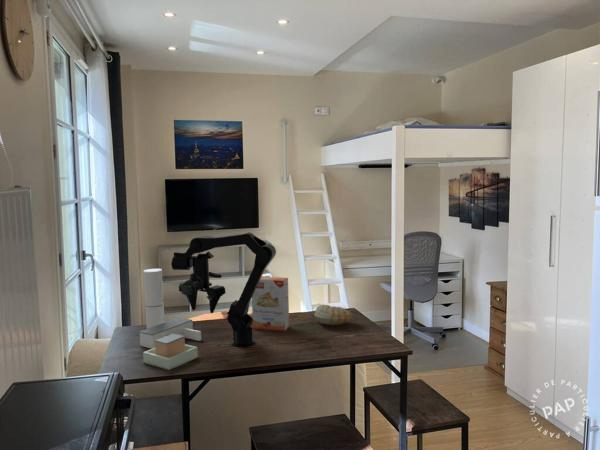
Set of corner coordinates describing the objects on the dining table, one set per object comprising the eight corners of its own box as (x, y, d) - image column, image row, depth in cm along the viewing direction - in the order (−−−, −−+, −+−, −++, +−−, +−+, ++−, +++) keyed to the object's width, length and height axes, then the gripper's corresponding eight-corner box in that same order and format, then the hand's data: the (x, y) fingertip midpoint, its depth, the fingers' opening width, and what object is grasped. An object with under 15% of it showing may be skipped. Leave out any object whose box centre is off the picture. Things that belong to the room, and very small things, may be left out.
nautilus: (304, 318, 204) (336, 316, 209) (322, 330, 184) (357, 327, 188) (304, 300, 204) (336, 299, 209) (322, 310, 183) (357, 308, 188)
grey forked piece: (140, 345, 173) (139, 331, 173) (180, 330, 190) (180, 317, 190) (169, 353, 165) (169, 338, 164) (209, 336, 182) (209, 323, 181)
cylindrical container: (167, 327, 194) (164, 268, 192) (160, 333, 187) (157, 271, 184) (151, 327, 195) (147, 268, 192) (143, 333, 188) (140, 272, 185)
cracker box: (252, 329, 189) (250, 278, 187) (257, 324, 195) (256, 275, 193) (284, 331, 185) (283, 280, 183) (289, 327, 191) (288, 277, 189)
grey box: (185, 355, 161) (184, 336, 160) (167, 363, 154) (166, 343, 153) (174, 352, 164) (173, 333, 163) (156, 360, 157) (155, 340, 156)
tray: (197, 357, 161) (197, 347, 160) (169, 370, 150) (168, 359, 150) (172, 350, 167) (171, 340, 167) (143, 362, 157) (143, 352, 157)
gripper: (166, 271, 170) (168, 313, 172) (203, 276, 160) (205, 320, 162) (189, 266, 180) (190, 306, 181) (225, 271, 170) (227, 312, 171)
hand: (202, 311), depth 174 cm, fingers open, 9 cm apart
